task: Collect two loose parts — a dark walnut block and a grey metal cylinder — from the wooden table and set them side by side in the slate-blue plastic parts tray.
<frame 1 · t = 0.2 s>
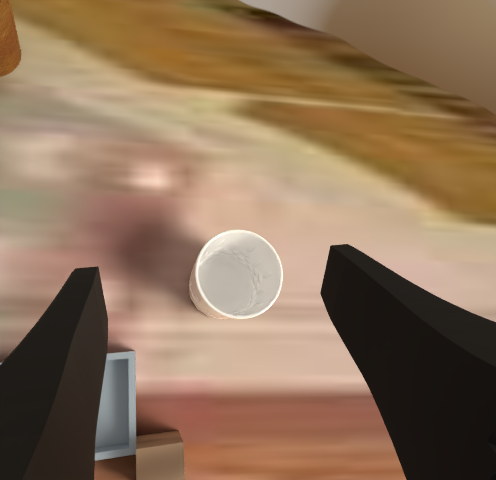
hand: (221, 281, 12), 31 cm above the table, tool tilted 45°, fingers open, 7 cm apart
white cup: (218, 287, 44), on the table
parts tray: (58, 407, 37), on the table
walnut block: (158, 455, 38), on the table
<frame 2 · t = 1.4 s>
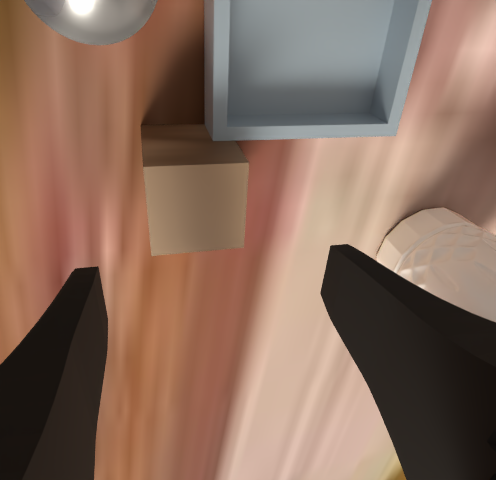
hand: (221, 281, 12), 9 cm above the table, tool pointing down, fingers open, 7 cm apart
white cup: (417, 247, 28), on the table
walnut block: (184, 163, 20), on the table
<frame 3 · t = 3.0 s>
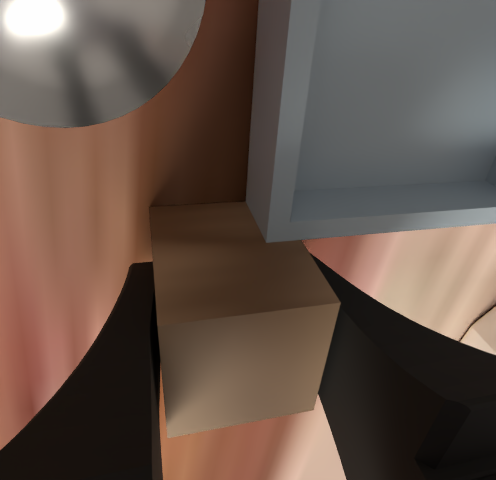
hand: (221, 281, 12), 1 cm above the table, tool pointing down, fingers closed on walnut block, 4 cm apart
walnut block: (213, 254, 13), on the table, touching gripper
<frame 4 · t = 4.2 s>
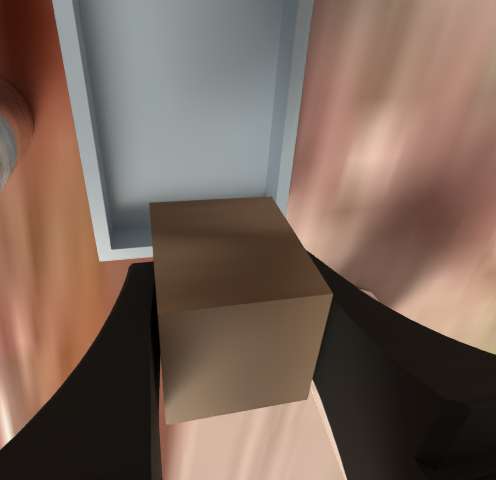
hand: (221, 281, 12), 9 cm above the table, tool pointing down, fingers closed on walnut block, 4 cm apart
white cup: (335, 319, 29), on the table
parts tray: (186, 93, 18), on the table
walnut block: (211, 250, 14), point 7 cm above the table, touching gripper
when the fingers open (4 cm above the table, at t = 5.6 s): walnut block drops 1 cm, resting on parts tray.
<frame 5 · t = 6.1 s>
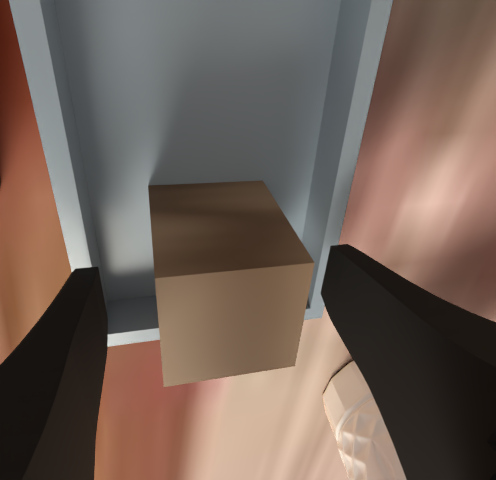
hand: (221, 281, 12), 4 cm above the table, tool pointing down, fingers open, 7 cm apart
white cup: (370, 380, 25), on the table
parts tray: (204, 133, 13), on the table
walnut block: (206, 231, 15), point 1 cm above the table, touching parts tray
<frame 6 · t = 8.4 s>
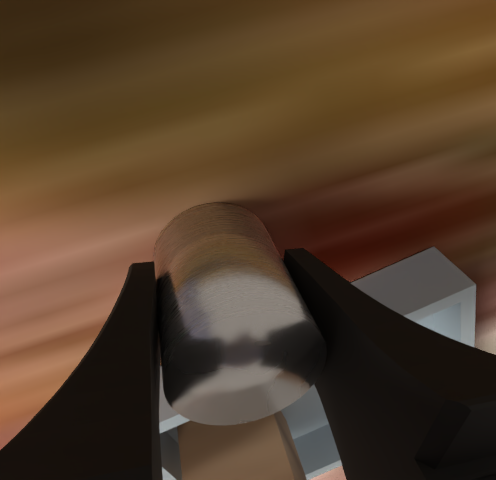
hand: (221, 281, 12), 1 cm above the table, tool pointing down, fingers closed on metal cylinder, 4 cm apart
parts tray: (301, 376, 18), on the table
metal cylinder: (213, 254, 13), on the table, touching gripper
walnut block: (234, 417, 18), point 1 cm above the table, touching parts tray
when the fingers open (4 cm above the table, at t = 11.3 s): metal cylinder stays where it is, resting on parts tray.
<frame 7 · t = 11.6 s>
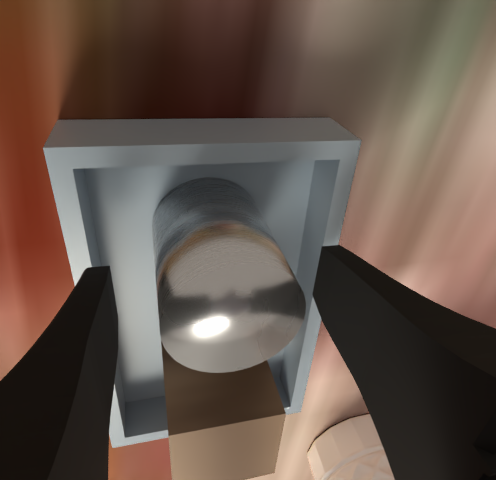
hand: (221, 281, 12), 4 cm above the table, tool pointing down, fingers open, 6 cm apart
white cup: (349, 438, 28), on the table
parts tray: (204, 282, 17), on the table
metal cylinder: (207, 226, 15), point 1 cm above the table, touching parts tray
walnut block: (206, 350, 18), point 1 cm above the table, touching parts tray
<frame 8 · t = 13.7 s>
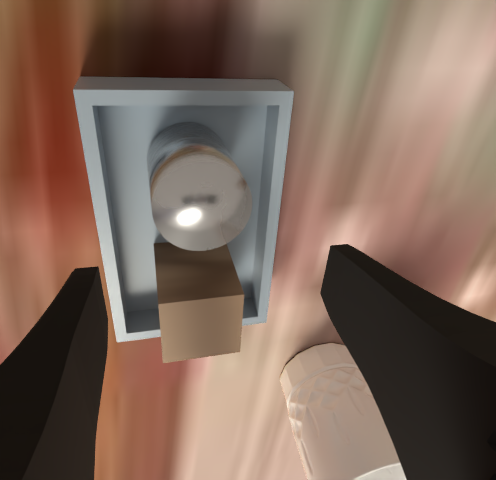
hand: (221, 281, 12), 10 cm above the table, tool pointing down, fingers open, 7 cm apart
white cup: (316, 368, 33), on the table
parts tray: (187, 211, 22), on the table
metal cylinder: (187, 161, 20), point 1 cm above the table, touching parts tray
walnut block: (190, 268, 23), point 1 cm above the table, touching parts tray
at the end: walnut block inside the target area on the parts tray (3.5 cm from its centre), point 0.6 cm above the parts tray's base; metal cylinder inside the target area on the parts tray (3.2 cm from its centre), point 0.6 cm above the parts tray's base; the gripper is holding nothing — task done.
